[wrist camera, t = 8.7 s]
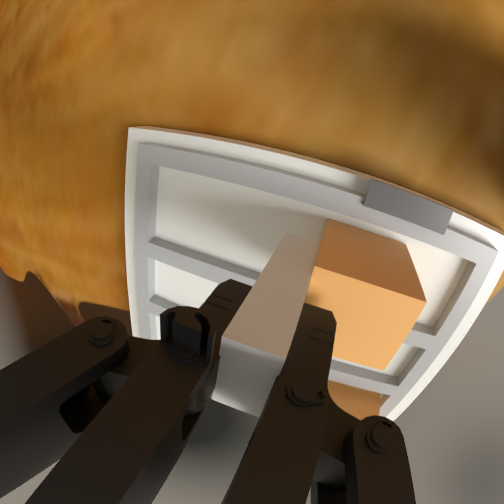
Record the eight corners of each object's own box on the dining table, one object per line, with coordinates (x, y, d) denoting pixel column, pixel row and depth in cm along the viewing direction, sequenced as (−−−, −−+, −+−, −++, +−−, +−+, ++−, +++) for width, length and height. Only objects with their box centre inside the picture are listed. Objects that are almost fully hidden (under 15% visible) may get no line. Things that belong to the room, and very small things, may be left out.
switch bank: (144, 340, 24) (128, 357, 22) (144, 122, 16) (117, 125, 13) (378, 422, 20) (376, 446, 18) (505, 228, 11) (525, 246, 9)
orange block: (308, 279, 15) (287, 342, 10) (327, 218, 13) (315, 265, 9) (379, 301, 14) (383, 370, 10) (405, 244, 12) (427, 302, 8)
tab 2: (309, 403, 19) (294, 459, 15) (326, 377, 17) (312, 439, 13) (358, 416, 18) (351, 472, 14) (380, 391, 16) (376, 452, 12)
